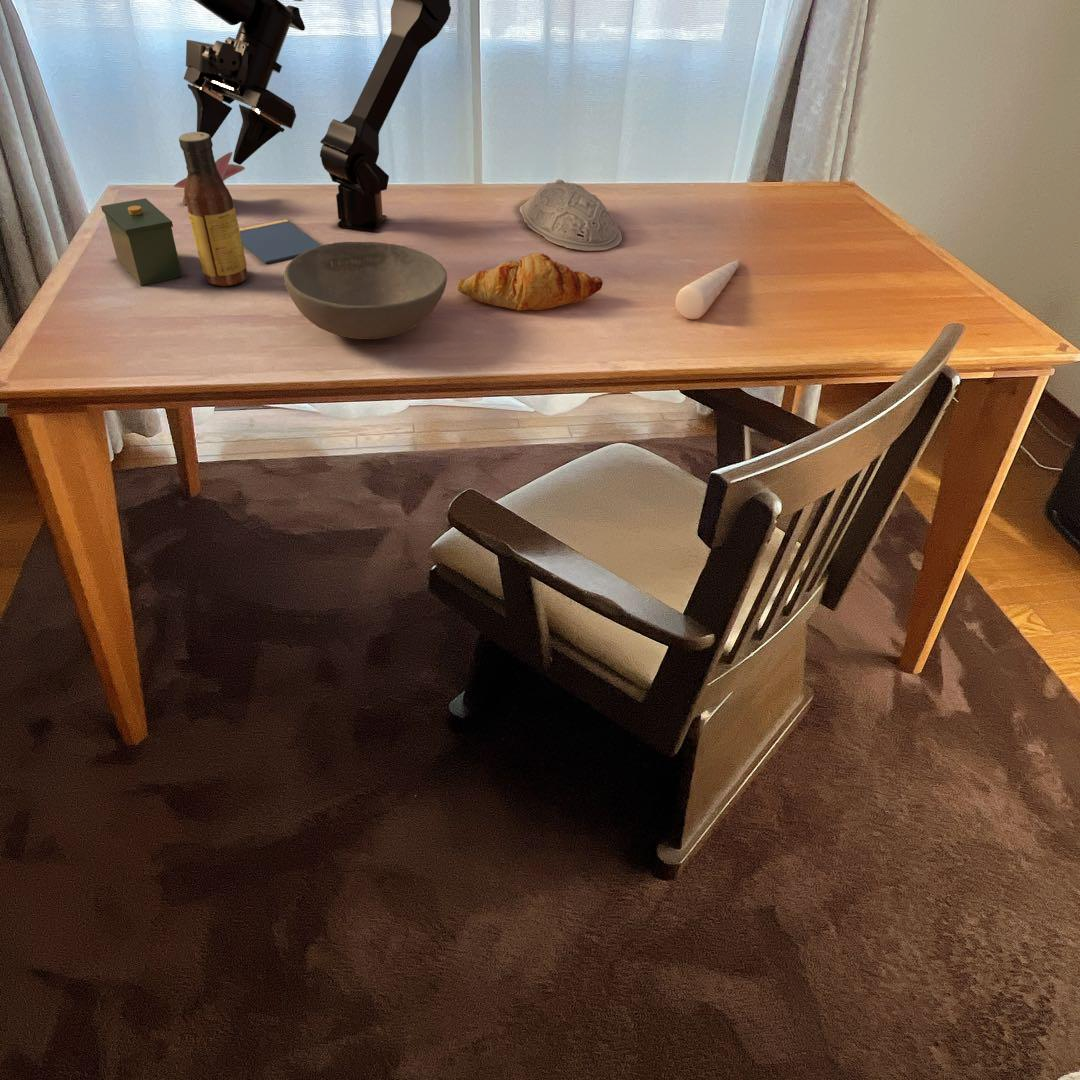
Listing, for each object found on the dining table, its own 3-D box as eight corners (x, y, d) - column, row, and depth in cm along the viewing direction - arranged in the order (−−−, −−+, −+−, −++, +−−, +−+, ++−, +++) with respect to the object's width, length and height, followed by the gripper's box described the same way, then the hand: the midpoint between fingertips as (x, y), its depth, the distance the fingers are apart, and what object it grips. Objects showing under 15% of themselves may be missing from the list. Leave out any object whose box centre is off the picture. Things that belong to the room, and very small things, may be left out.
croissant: (458, 329, 127) (458, 294, 120) (455, 272, 131) (454, 235, 123) (602, 325, 129) (610, 291, 122) (594, 269, 133) (602, 233, 125)
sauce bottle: (254, 272, 130) (231, 131, 117) (239, 290, 125) (213, 145, 112) (212, 268, 130) (183, 126, 117) (195, 286, 126) (164, 140, 113)
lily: (262, 203, 154) (235, 147, 150) (257, 198, 143) (228, 138, 139) (198, 229, 153) (169, 174, 149) (188, 227, 142) (158, 167, 138)
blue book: (285, 221, 146) (285, 218, 145) (325, 250, 137) (325, 247, 137) (228, 233, 141) (227, 230, 140) (265, 264, 133) (265, 260, 132)
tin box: (158, 252, 134) (144, 192, 128) (184, 276, 128) (170, 215, 122) (115, 260, 131) (99, 200, 125) (140, 286, 125) (123, 224, 119)
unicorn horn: (760, 269, 141) (766, 240, 138) (701, 325, 125) (707, 293, 122) (733, 262, 142) (738, 233, 139) (671, 315, 127) (676, 284, 124)
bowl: (278, 301, 123) (269, 246, 118) (420, 283, 130) (418, 230, 125) (310, 374, 109) (302, 315, 104) (468, 349, 116) (468, 293, 110)
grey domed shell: (551, 251, 140) (557, 208, 136) (504, 204, 159) (508, 165, 155) (638, 253, 145) (646, 212, 142) (582, 207, 164) (588, 169, 160)
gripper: (170, -2, 117) (131, 112, 120) (250, 23, 108) (205, 145, 111) (238, 43, 127) (200, 147, 130) (316, 70, 118) (274, 181, 121)
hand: (217, 154), depth 123 cm, fingers open, 9 cm apart
